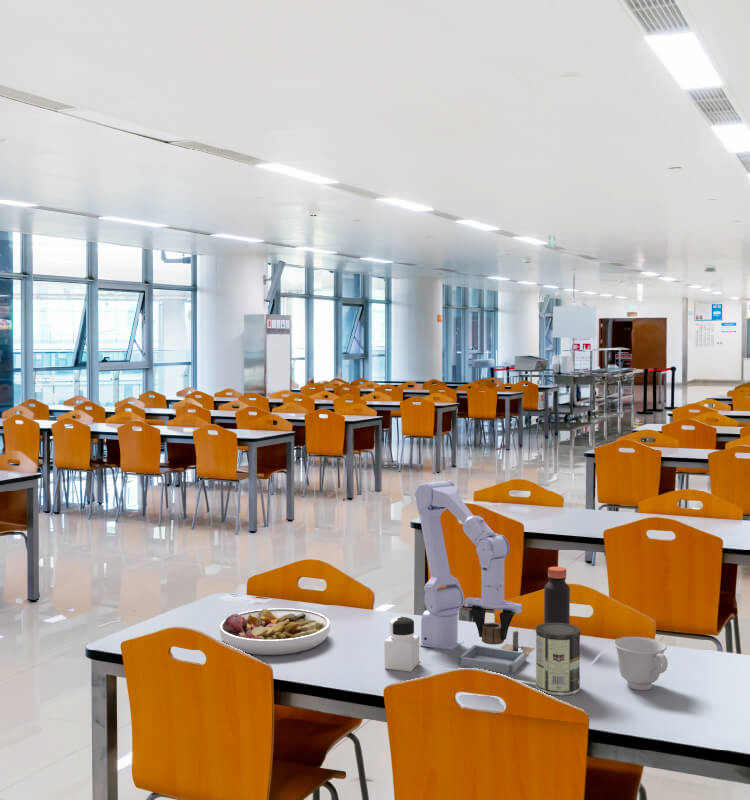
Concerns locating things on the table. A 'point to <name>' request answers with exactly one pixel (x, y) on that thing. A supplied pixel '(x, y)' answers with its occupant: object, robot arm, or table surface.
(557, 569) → the vinegar
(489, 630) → the collar
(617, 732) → the table surface
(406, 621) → the medicine bottle
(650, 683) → the teacup
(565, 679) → the coffee can
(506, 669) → the tray
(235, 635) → the bowl
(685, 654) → the table surface
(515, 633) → the post stand
